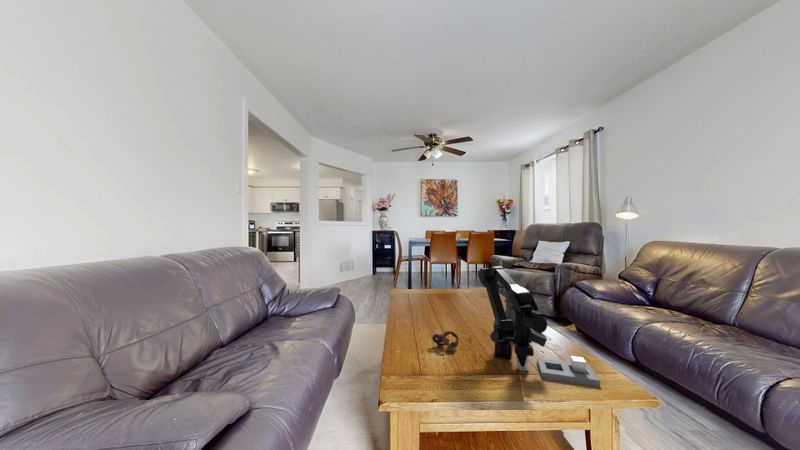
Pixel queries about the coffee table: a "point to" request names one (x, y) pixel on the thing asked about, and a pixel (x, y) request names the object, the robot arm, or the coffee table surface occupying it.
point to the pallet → (566, 372)
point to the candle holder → (508, 307)
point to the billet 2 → (578, 365)
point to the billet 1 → (520, 364)
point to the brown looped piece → (443, 338)
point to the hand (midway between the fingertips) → (522, 363)
